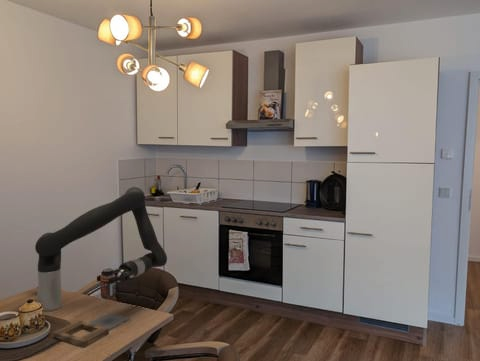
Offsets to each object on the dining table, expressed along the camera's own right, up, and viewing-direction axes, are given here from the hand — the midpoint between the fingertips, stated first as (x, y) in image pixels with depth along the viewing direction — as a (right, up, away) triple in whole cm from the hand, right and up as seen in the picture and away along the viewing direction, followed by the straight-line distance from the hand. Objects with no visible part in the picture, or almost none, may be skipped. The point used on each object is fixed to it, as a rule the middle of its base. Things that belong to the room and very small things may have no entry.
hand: (103, 280), depth 163 cm
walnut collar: (-5, -19, -9) cm, 22 cm away
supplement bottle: (+1, -8, +3) cm, 8 cm away
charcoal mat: (+1, -18, +4) cm, 18 cm away
